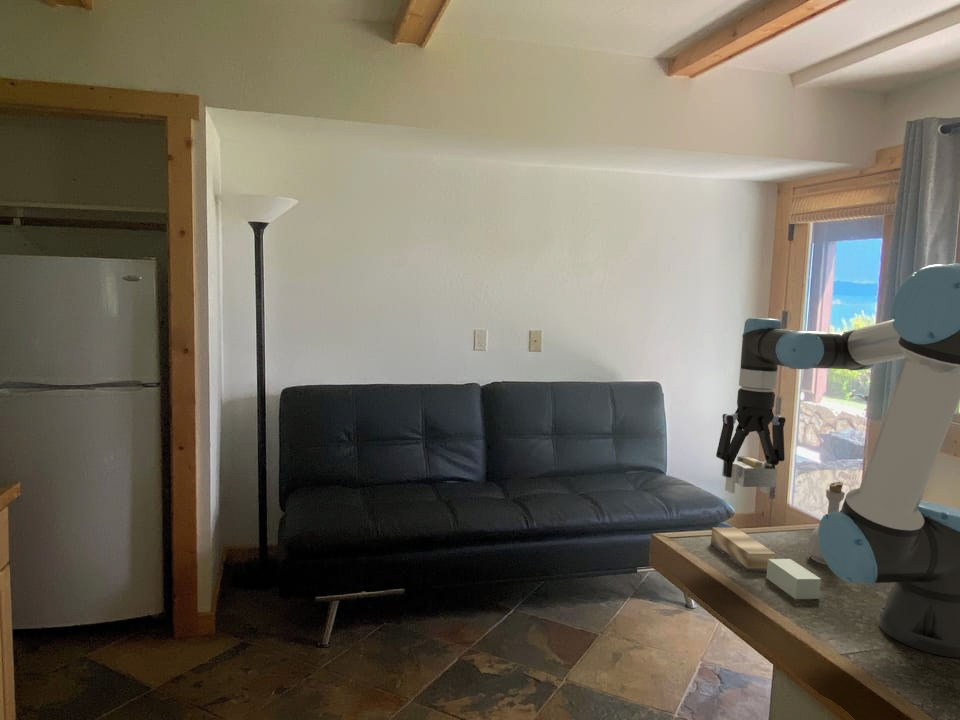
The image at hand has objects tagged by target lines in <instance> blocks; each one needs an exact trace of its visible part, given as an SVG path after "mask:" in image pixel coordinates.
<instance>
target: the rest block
mask: <svg viewBox="0 0 960 720" xmlns="http://www.w3.org/2000/svg"><path fill="white" fill-rule="evenodd" d="M765 578H766V579H767V580H769V581H770V582H771V583H773V584H774V585H775V586H777V587H778V588H779V589H781V590H783V592H785V593H786V594H787V595H789V596H790V597H792V598H793V599H794V600H817V599H818V600H819V599H820V594H821V593H820V592H821V582H822V579H821V578H820V577H818V576H817V575H816V574H815V573H812V572H811V571H809V570H808V569H807V568H805V567H804V566H802V565H800V564H799V563H797V562H796V561H794V560H793V559H792V558H775V559H768V565H767V572H766V576H765Z"/></svg>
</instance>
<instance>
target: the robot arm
mask: <svg viewBox="0 0 960 720" xmlns="http://www.w3.org/2000/svg"><path fill="white" fill-rule="evenodd" d="M890 316H891V318H892V319H891V320H890V319H889V320H887V321H883V322H878V323H875V324H871V325H868V326H863V327H859V328H857V329H852V330H849V331H843V332H838V331H836V332H833V331H816V330H815V331H814V330H813V331H812V330H800V329H799V330H798V329H797V330H796V329H783V328H782V325H783V324H782V321H781V320H780V319H777V318H765V317H764V318H762V317H761V318H760V317H759V318H758V317H749V318H747V319H746V320H745V322H744V326H743V327H744V328H743V333H742V335H741V337H742V341H741V343H742V344H741V357H740V368H739V369H740V370H739V379H738V386H739V387H740V388H739V389H738V390H737V400H736V404H737V405H736V406H737V409H736V410H735V412H734V413H730V414H728V413H724V414H722V422H723V423H722V428H721V432H720V437H719V441H718V445H717V449H716V453H715V454H716V455H715V456H716V458H718V459H720V460H722V461H723V460H724V471H723V474H724V476H726V477H725V484H724V485H725V486H724V490H725V491H727V492H728V493H730V494H735V491H736V483H735V482H736V471H737V464H736V463H734V461H735V458H737V457H738V454H739V452H740V450H741V447H742V446H743V444H744V442H745V439H746V438H747V437H748V436H749V434H750V433H754V432H756V434H758V438H759V441H760V444H761V448H762V451H763V455H764V458H765V461H762V462H763V463H765V464H767V465H770V466H772V467H774V468H776V466H778V465H779V463H780V462H783V461H785V459H786V458H785V438H784V437H785V435H784V432H785V431H784V430H785V429H784V428H785V423H786V418H785V416H781V415H778V414H777V415H774V411H773V409H774V407H775V399H776V398H775V397H776V393H775V392H774V390H775V389H777V377H778V369H779V367H778V366H780V367H781V366H782V367H787V368H789V369H791V370H809V369H810V370H811V369H823V370H824V369H831V370H832V369H834V370H835V369H836V370H849V371H862V370H869V369H872V368H873V367H874V366H875V365H876V364H881V363H886V362H887V363H888V362H892V361H897V360H903V362H902V365H901V367H900V369H899V373H898V376H897V378H896V382H895V384H894V388H893V391H892V394H891V396H890V399H889V402H888V406H887V408H886V411H885V414H884V416H883V419H882V423H881V425H880V429H879V430H878V434H877V438H876V440H875V443H874V445H873V449H872V451H871V454H870V457H869V460H868V463H867V466H866V468H865V472H864V475H863V477H862V480H861V483H860V485H859V486H860V487H858V488H856V489H852V490H850V491H848V492H847V493H846V494H845V496H844V499H843V500H844V501H843V503H842V506H841V508H840V510H839V511H832V512H830V513H829V514H828V513H826V514H825V515H823V516H822V517H821V519H820V521H819V524H818V527H819V528H818V541H819V546H820V549H821V551H822V555H823V558H824V560H825V562H826V563H827V565H826V566H827V567H828V568H829V569H830V570H831V571H832V573H833V574H834V575H835V576H836V577H838V578H839V579H841V580H842V581H845V582H846V583H850V584H864V585H868V586H869V585H872V584H877V583H878V584H882V583H883V584H884V583H886V584H887V583H894V584H893V587H892V588H891V591H890V593H889V594H888V597H887V599H886V602H885V604H883V605H882V606H881V608H880V609H879V616H878V626H879V628H880V629H881V630H882V631H883V632H884V633H885V634H886V635H887V636H889V637H890V638H892V639H894V640H896V641H897V642H900V643H901V644H903V645H906V646H907V647H911V648H913V649H915V650H919V651H922V652H925V653H928V654H931V655H932V654H933V655H937V656H940V657H946V658H947V657H948V658H954V659H955V658H957V659H959V658H960V509H958V508H955V507H951V506H947V505H943V504H940V503H936V502H931V501H927V500H922V499H923V495H924V493H925V491H926V488H927V485H928V483H929V481H930V478H931V475H932V473H933V470H934V467H935V465H936V462H937V460H938V457H939V454H940V452H941V449H942V447H943V444H944V442H945V439H946V437H947V434H948V432H949V428H950V427H951V423H952V421H953V418H954V415H955V413H956V411H957V408H958V406H959V403H960V262H959V263H948V264H942V263H941V264H940V263H939V264H931V265H927V266H925V267H922V268H920V269H918V271H915V272H913V273H911V274H910V275H909V276H908V277H907V278H906V279H905V280H904V281H902V283H901V285H900V286H899V287H898V289H897V291H896V292H895V295H894V297H893V300H892V304H891V309H890ZM736 421H737V422H738V423H737V422H736ZM736 423H737V425H736V428H735V424H736ZM770 424H771V425H772V426H771V431H772V432H770V427H769V425H770ZM734 428H735V429H734ZM734 430H735V433H734ZM733 433H734V434H733ZM771 433H772V434H771ZM771 435H772V440H771ZM724 476H723V477H724ZM758 490H759V491H760V492H761V493H764V494H765V495H767V494H770V490H771V487H759V489H758Z"/></svg>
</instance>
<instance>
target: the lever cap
mask: <svg viewBox="0 0 960 720" xmlns="http://www.w3.org/2000/svg"><path fill="white" fill-rule="evenodd" d="M763 462H764V461H760V460H758V459H756V458H752V457H750V456H749V457H748V456H743V455H741V456H739V455H737V456H736V458H735V461H734V463H736V464H737V471H736V482H735V484H737V485H739V486H741V487H743V488H744V487H745V488H747V487H748V488H760V487H770V488H776V486H777V474H778V468H776V467H775V468H774V467H772V466H770V465H767V464H765V463H763ZM723 471H724V460H722V472H721V476H722V477H724V478H726V476H724V474H723Z"/></svg>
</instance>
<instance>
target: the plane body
mask: <svg viewBox="0 0 960 720" xmlns="http://www.w3.org/2000/svg"><path fill="white" fill-rule="evenodd" d="M710 537H711V539H710V545H711V546H713V547H714V548H715V549H716V548H717V549H716V550H718V551H719V550H720V551H721V552H720V551H719V552H720V553H722V552H723V553H724V554H725V555H724V554H723V553H722V554H723V555H724V556H726V555H727V556H728V557H729V559H730V558H731V559H732V560H733V561H732V560H731V559H730V560H731V561H732V562H734V561H735V562H736V563H737V564H739V565H740V566H741V567H742V568H741V569H743V568H744V569H745V570H746V571H745V570H744V569H743V570H744V571H745V572H747V571H748V572H747V573H767V565H768V559H776V553H775V552H774V551H772V550H770V549H769V548H767V547H766V546H764V545H763V544H762V543H761V542H759V541H757V540H756V539H754V538H752V537H751V536H750V535H748V534H747V533H745V532H743V531H742V530H740V529H739V528H737V527H712V529H711V535H710ZM727 556H726V557H727ZM728 557H727V558H728ZM735 562H734V563H735ZM736 563H735V564H736ZM737 564H736V565H737ZM739 565H738V566H739ZM740 566H739V567H740ZM749 571H750V572H749Z"/></svg>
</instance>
